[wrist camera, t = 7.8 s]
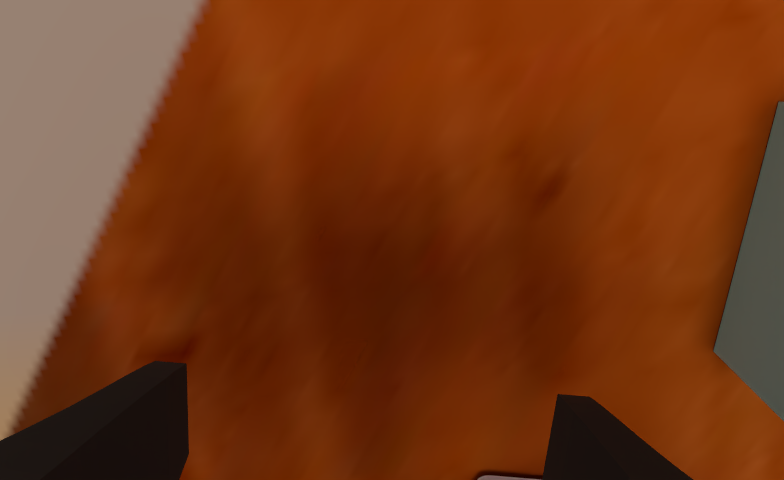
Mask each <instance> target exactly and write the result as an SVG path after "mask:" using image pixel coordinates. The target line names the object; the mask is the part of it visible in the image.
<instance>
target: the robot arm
mask: <svg viewBox="0 0 784 480" xmlns="http://www.w3.org/2000/svg"><path fill="white" fill-rule="evenodd" d="M188 454H189V444H188V404H187V365H186V364H185V363H173V362H160V361H154V362H152V363H150V364H148V365H145V366H143V367H141V368H140V369H138V370H136V371H134V372H132V373H130V374H128V375H126V376H125V377H123V378H121V379H119V380H117V381H116V382H114V383H112V384H110V385H108V386H107V387H105V388H103V389H101V390H99V391H98V392H96V393H94V394H92V395H90V396H88V397H87V398H85V399H83V400H81V401H79V402H77V403H76V404H74V405H72V406H70V407H68V408H66V409H64V410H62V411H60V412H58V413H56V414H54V415H52V416H50V417H48V418H46V419H44V420H42V421H40V422H38V423H36V424H34V425H32V426H30V427H28V428H26V429H24V430H22V431H20V432H18V433H16V434H14V435H12V436H9V437H7V438H5V439H3V440H1V441H0V480H179V478H180V476H181V473H182V470H183V468H184V465H185V462H186V460H187V457H188ZM477 480H541V479H529V478H517V477H505V476H493V475H485V476H482V477H480V478H478V479H477ZM542 480H693V479H692V478H690V477H689V476H688V475H686V474H685V473H684V472H682V471H681V470H680V469H678V468H677V467H676V466H675V465H673V464H672V463H671V462H669V461H668V460H667V459H666V458H664V457H663V456H662V455H661V454H659V453H658V452H657V451H656V450H654V449H653V448H652V447H651V446H649V445H648V444H647V443H646V442H645V441H643V440H642V439H641V438H640V437H639V436H637V435H636V434H635V433H634V432H633V431H631V430H630V429H629V428H628V427H627V426H625V425H624V424H623V423H622V422H621V421H619V420H618V419H617V418H616V417H615V416H613V415H612V414H611V413H610V412H609V411H607V410H606V409H605V408H604V407H602V406H601V405H600V404H599V403H597V402H596V401H595V400H593V399H592V398H590V397H586V396H573V395H561V394H558V395H557V401H556V406H555V412H554V417H553V423H552V428H551V434H550V439H549V445H548V451H547V456H546V462H545V467H544V473H543V478H542Z"/></svg>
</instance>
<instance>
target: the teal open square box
mask: <svg viewBox="0 0 784 480" xmlns="http://www.w3.org/2000/svg"><path fill="white" fill-rule="evenodd" d="M714 352H715V353H716V354H717V355H718V356H719V357H720V358H721V359H722V360H723V361H724V362H725V363H726V364H727V365H728V366H729V367H730V368H731V369H732V370H733V371H734V372H735V373H736V374H737V375H738V376H739V377H740V378H741V379H742V380H743V381H744V382H745V383H746V384H747V385H748V386H749V387H750V388H751V389H752V390H753V391H754V392H755V393H756V394H757V395H758V396H759V397H760V398H761V399H762V400H763V401H764V402H765V403H766V404H767V405H768V406H769V407H770V408H771V409H772V410H773V411H774V412H775V413H776V414H777V415H778V416H779V417H780V418H781V419H782V420H783V421H784V102H781V101H779V102H778V106H777V110H776V114H775V118H774V122H773V125H772V129H771V133H770V137H769V141H768V145H767V148H766V152H765V156H764V160H763V164H762V167H761V171H760V175H759V179H758V183H757V187H756V190H755V194H754V198H753V202H752V206H751V209H750V213H749V217H748V221H747V225H746V229H745V232H744V236H743V240H742V244H741V248H740V252H739V255H738V259H737V263H736V267H735V271H734V274H733V278H732V282H731V286H730V290H729V294H728V297H727V301H726V305H725V309H724V313H723V317H722V320H721V324H720V328H719V332H718V336H717V339H716V343H715V347H714Z"/></svg>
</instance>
